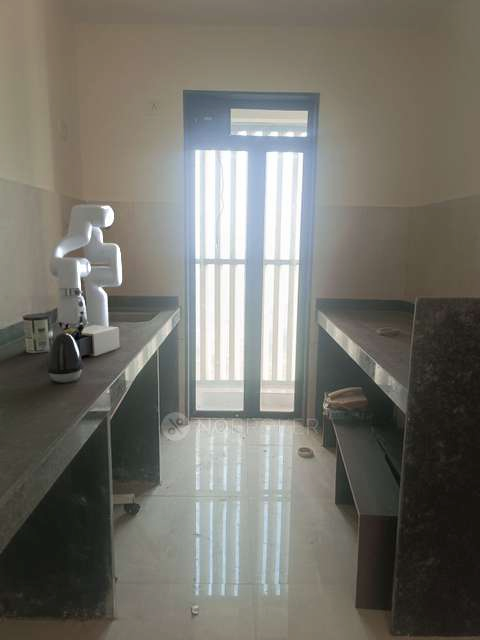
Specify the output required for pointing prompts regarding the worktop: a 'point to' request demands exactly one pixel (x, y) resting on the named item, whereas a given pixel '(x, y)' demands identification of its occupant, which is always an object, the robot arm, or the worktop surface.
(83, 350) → the dark grey storage bin
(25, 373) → the worktop surface
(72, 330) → the cube
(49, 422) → the worktop surface
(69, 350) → the dark grey rounded dome
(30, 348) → the coffee can
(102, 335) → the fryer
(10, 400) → the worktop surface
